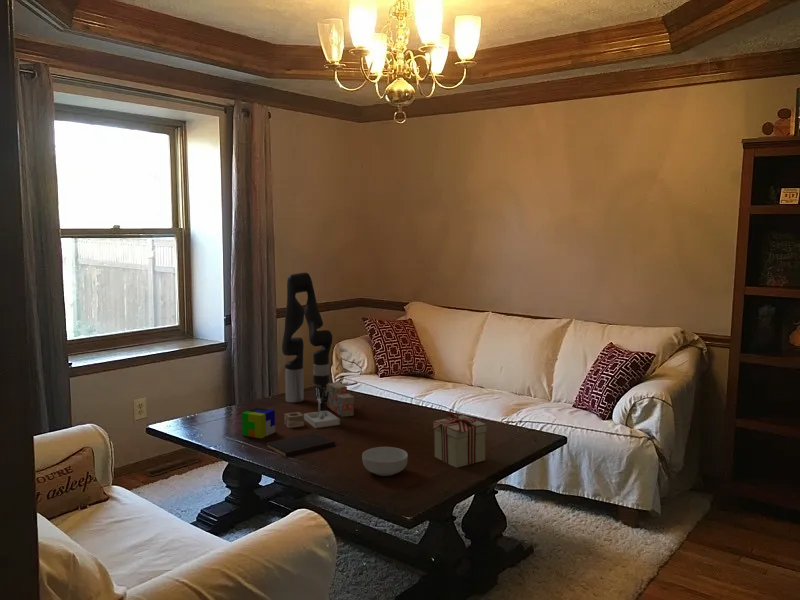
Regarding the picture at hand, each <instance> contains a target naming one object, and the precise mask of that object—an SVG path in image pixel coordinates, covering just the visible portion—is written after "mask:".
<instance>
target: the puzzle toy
mask: <svg viewBox="0 0 800 600" xmlns="http://www.w3.org/2000/svg"><path fill="white" fill-rule="evenodd" d="M275 413H276V410H274V409H268V408H263V407H262V408H261V407H254V408H252V409H249V410H246V411H244V412H241V424H242V425H241V427H242V429H241V431H242V433H241V434H242V436H243V435H244V436H245V437H250V438H255V439H263V438H265V436H266V437H268V436H270V435H272V434H274V433H276V414H275Z"/></svg>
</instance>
